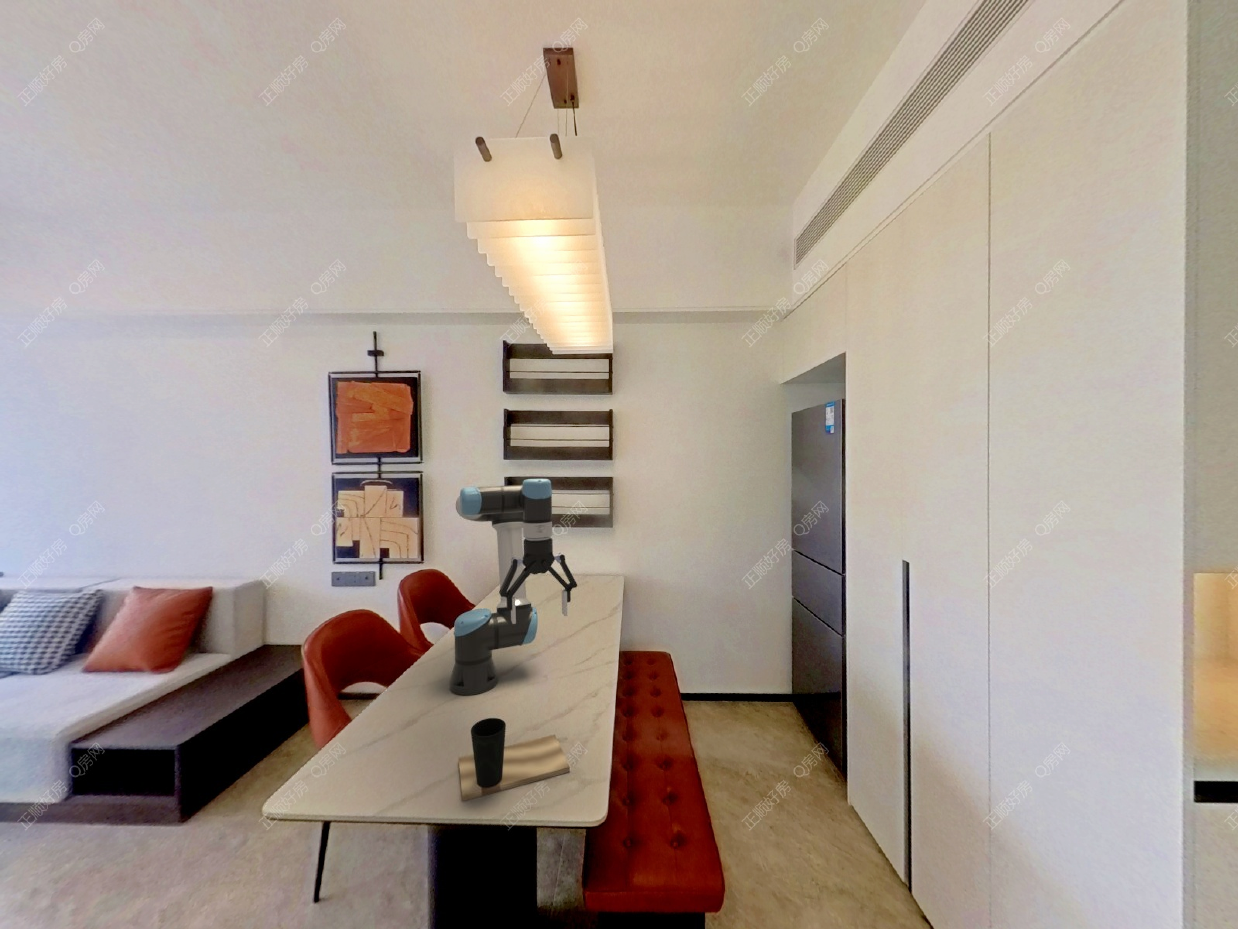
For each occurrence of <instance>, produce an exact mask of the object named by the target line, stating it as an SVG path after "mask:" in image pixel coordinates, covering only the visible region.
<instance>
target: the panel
mask: <svg viewBox="0 0 1238 929" xmlns="http://www.w3.org/2000/svg"><path fill="white" fill-rule="evenodd" d="M458 767H459V780H460V789H461V790H460V791H461V799H462V802H465V801H469V800H471V799H475V798H479V797H483V796H486V795H489V794H494V793H497V792H501V791H505V790H508V789H513V788H515V787H516V788H517V787H519V786H522V785H526V784H531V783H534V782H537V781H541V780H544V779H548V778H553V777H555V776H559V775H563V774H567V773H570V772H571V771H570V770H571V766H570V765H569V762H568V760H567V758H566V756H565V753H564V751H563V749H562V747H561V744H560V742H559V741H558V738H557V736H556V734H555V733H554V734H551V735H547V736H543V737H538V738H534V739H529V740H526V741H523V742H522V741H521V742H517V743H512V744H510V745H504V759H503V773H502V780H501V781H500V783H498V784H497V785H495V786H493V787H490V788H482V787H480V786H478V784H477V779H476V770H475V762H474V754H473V753H472V754H468V755H464V756H460V757H458Z"/></svg>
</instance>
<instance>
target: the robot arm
mask: <svg viewBox="0 0 1238 929" xmlns="http://www.w3.org/2000/svg"><path fill="white" fill-rule="evenodd" d="M552 495H553V490H552V482H551V480H550V479H548V478H528V479H524V480H523V481H522V484H514V485H513V484H512V485H510V484H509V485H496V486H494V485H490V486H488V485H486V486H470V487H468V486H467V487H462V488H461V489H460V491H459V496H458V497H457V498H456V503H455V509H456V513H457V514H458V515H459V516H460V517H461V518H463V519H465V520H467V521H471V522H472V521H473V522H478V523H479V522H481V523H482V522H487V523H488V522H491V527H492V528H493V529H494V530H495V532H496V536H497V537H496V539H497V540H496V542H497V557H498V558H497V559H498V576H499V592H498V593H499V596H500V602H499V603H498V604H497V606H496V612H492V611H491V609H490V608H475V609H471V610H469V611H466V612H464V613H462V614H460V615H459V616H458V617H456V620H455V621H454V628H453V629H454V631H453V637H454V666H453V669H452V673H451V675H450V678H449V690H450V691H451V692H452V693H453V694H456V695H459V696H473V695H474V696H475V695H478V694H483V693H485V692H488V691H490V690H491V689H493V688H494V687H496V685H497V684H498V683H499V673H498V670H497V667H496V665H495V662H494V660H493V651H495V650H501V649H506V648H507V649H508V648H513V647H518V646H519V647H521V646H524V645H528V644H532V643H533V642H534V640H535V639H536V636H537V632H538V620H539V619H538V610H537V609H536V607H534V606H532V601H530V600H529V598H527V590H526V588H527V587H526V579H527V578H529V577H530V575H538V574H546V573H547V572H549V573H550V574H551V575H552V576H553V577H554V579H556V581H558V583H559V584H560V585H561V586H562V587H563V588H562V589H561V614H562V615H563V616H564V617H568V603H571V600H572V598H571V596H572V595H571V592H572V589H574V588H577V587H578V583H577V582H576V579H575V578H574V576H573V574H572V572H571V570H570V568H569V566H568V565H567V562H566V556H565V554H563V553H561V552H559V553H558V554H555V555H554V553H553V552H554V548H553V546H554V545H553V543H554V542H553V538H552V536H553V506H552V505H553V500H552V499H553V498H552ZM522 530H523V531H522ZM523 537H524V540H523ZM555 561H556V563H558V564H559V565H560V567H561V569H562V571H563V573H564V575H565V577H566V578H567V580H568V581H569V582H568V583H567V582H566V580H564V578H562V576H561V575H560V574H559V573H558V572H557V571H556V570H555V569H554V567H552V565H553V564H554V562H555Z"/></svg>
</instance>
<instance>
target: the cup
mask: <svg viewBox="0 0 1238 929" xmlns="http://www.w3.org/2000/svg"><path fill="white" fill-rule="evenodd" d="M506 727H507V724H506V721H505V720H503V719H501V718H497V717H490V718H489V717H488V718H483V719H482V720H479V721H477V722H475V723H474V724H473V725H472V726H471V729H470V736H471V737H470V738H471V744H472V754H474V762H475V770H476V779H477V784H478V786H480V787H482V788H490V787H493V786H495V785H497V784H498V783H500V781H501V780H502V773H503V759H504V747H505V746H506V744H505V743H506V742H505V741H506V730H507V729H506Z"/></svg>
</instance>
